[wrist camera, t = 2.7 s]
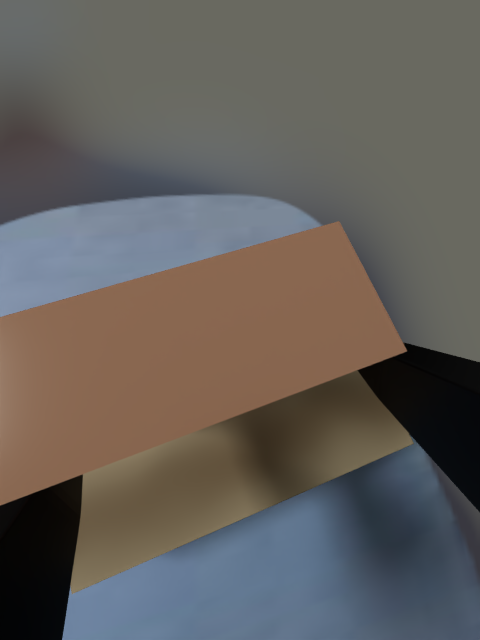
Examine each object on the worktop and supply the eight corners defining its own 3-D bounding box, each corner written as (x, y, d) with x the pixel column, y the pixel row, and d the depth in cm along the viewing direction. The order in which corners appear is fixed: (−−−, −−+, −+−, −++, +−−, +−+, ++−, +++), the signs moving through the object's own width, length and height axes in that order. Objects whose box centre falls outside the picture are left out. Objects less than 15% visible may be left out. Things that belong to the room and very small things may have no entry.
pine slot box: (374, 434, 16) (413, 443, 13) (109, 546, 14) (71, 593, 10) (298, 265, 19) (313, 237, 16) (70, 334, 17) (31, 319, 13)
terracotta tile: (270, 386, 17) (407, 351, 4) (177, 420, 16) (-4, 507, 3) (256, 349, 17) (339, 220, 5) (166, 380, 16) (-22, 323, 4)
